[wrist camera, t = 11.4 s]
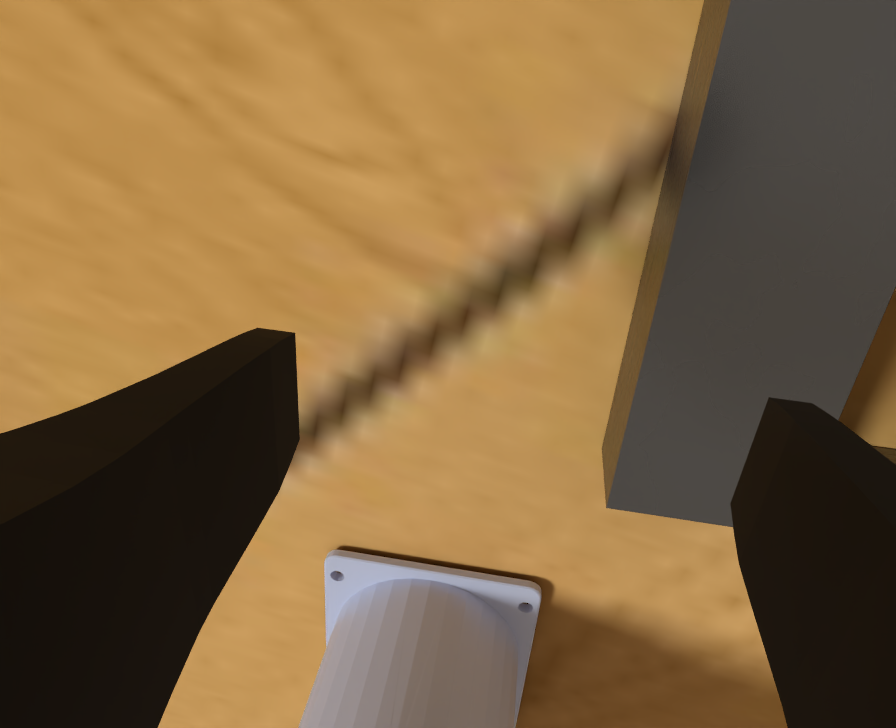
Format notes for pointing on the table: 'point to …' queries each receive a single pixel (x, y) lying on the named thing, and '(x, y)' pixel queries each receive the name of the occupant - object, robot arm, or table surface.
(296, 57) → the table surface
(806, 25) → the keyhole plate
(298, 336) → the table surface
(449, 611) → the robot arm
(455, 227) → the table surface
